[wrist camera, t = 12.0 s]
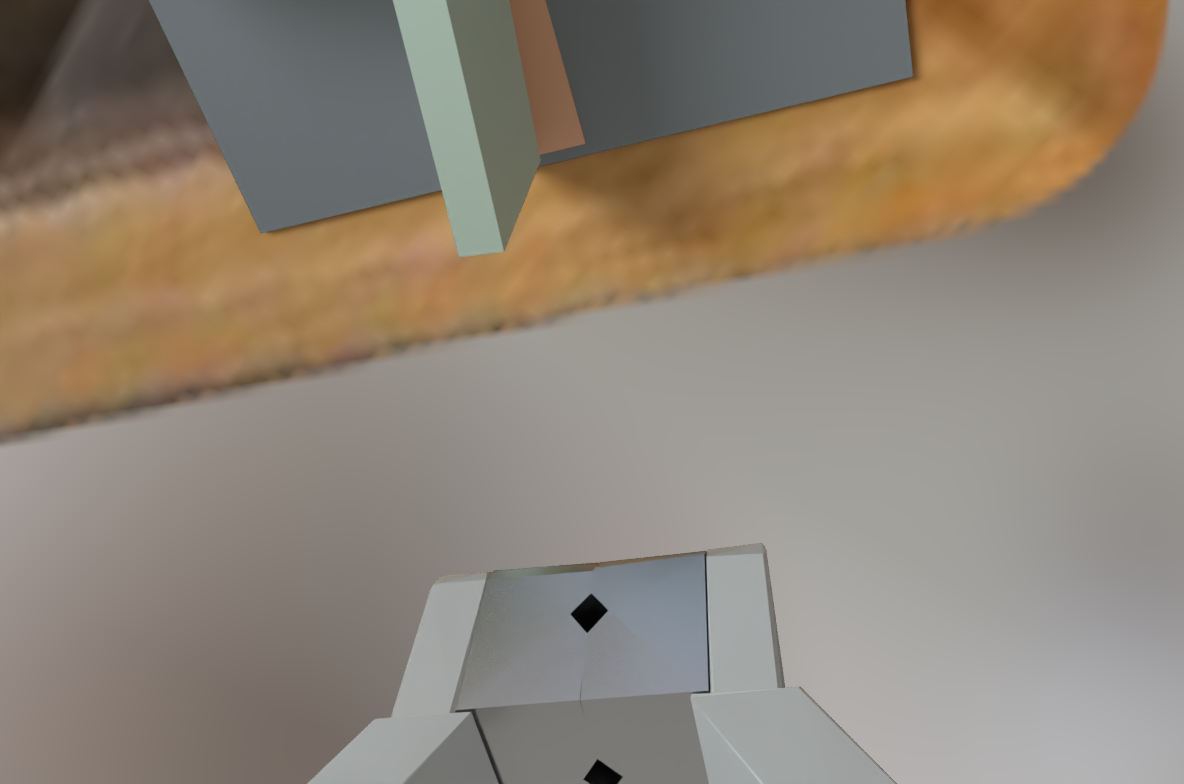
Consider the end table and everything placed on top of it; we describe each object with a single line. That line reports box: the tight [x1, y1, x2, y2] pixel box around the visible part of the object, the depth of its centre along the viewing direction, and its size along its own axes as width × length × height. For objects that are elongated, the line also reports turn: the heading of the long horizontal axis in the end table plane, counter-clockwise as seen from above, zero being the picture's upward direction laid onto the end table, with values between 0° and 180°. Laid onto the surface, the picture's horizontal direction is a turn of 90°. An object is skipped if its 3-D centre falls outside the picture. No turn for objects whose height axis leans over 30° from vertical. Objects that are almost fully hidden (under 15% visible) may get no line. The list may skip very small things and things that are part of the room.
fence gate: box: [393, 0, 541, 257], centre depth 25 cm, size 9×1×7 cm, turn 10°
